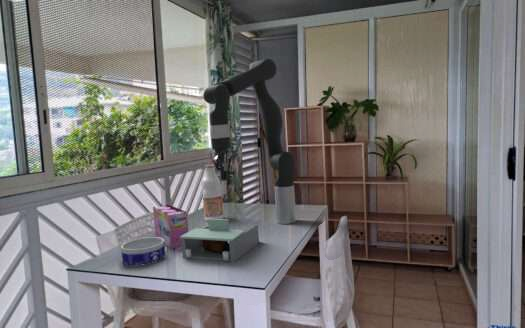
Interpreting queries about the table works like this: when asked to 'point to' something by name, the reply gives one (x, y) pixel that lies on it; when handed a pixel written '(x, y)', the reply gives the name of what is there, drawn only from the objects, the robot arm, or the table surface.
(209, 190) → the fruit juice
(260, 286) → the table surface
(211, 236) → the cover
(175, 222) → the gum box
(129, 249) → the dog bowl
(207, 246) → the brick
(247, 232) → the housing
